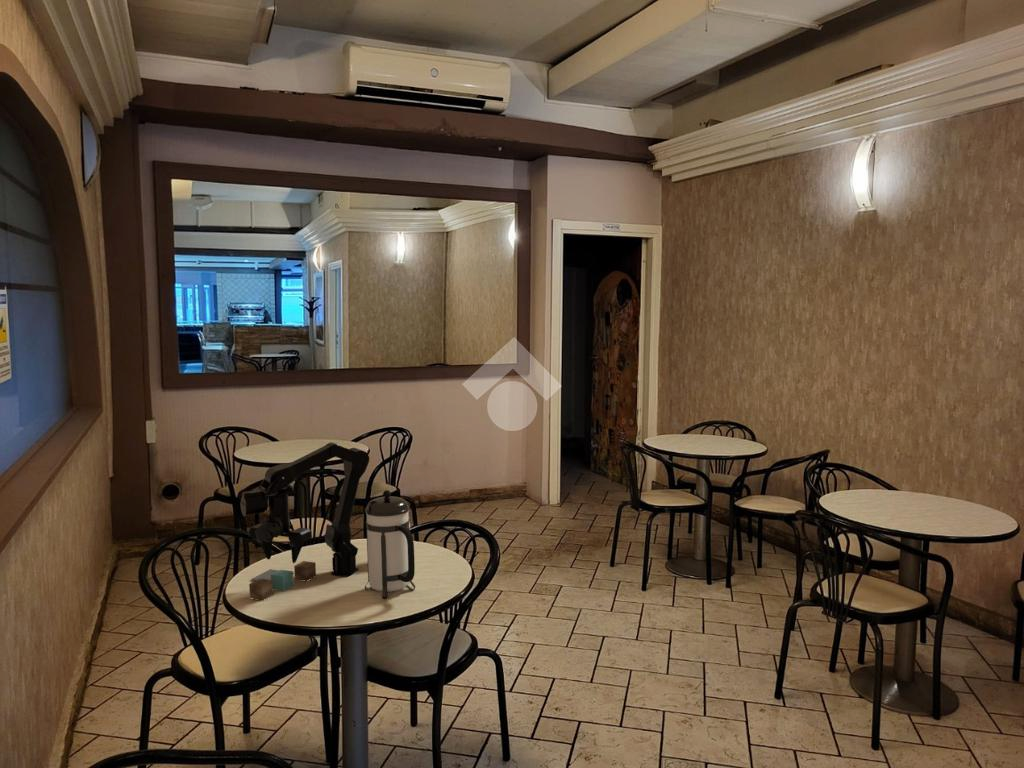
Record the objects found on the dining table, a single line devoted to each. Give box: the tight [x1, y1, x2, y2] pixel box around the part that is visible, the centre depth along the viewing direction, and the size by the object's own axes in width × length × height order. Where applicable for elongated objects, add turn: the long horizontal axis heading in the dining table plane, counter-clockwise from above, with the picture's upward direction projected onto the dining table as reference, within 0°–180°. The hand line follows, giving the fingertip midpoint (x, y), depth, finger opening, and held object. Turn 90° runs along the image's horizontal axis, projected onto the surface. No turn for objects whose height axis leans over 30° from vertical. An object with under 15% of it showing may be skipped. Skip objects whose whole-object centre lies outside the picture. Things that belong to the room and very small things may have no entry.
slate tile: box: [250, 569, 295, 582], centre depth 226 cm, size 9×9×1 cm
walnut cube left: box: [248, 579, 274, 601], centre depth 211 cm, size 4×4×4 cm
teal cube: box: [271, 569, 294, 592], centre depth 218 cm, size 4×4×4 cm
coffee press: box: [364, 489, 416, 600], centre depth 213 cm, size 17×16×30 cm
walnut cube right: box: [293, 560, 317, 582], centre depth 225 cm, size 4×4×4 cm
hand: (281, 560), depth 217 cm, fingers open, 9 cm apart
